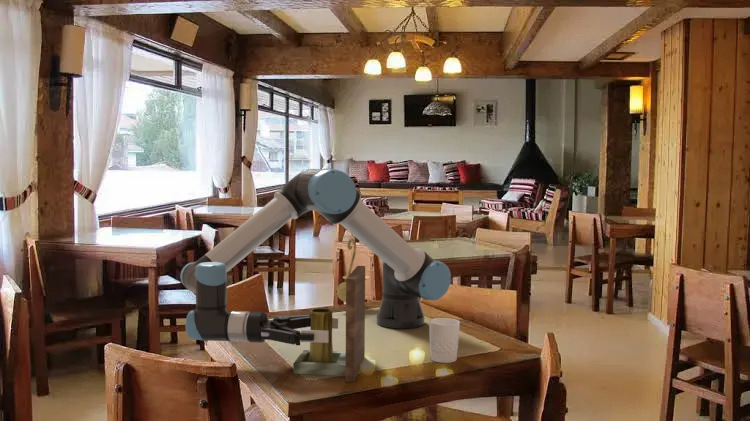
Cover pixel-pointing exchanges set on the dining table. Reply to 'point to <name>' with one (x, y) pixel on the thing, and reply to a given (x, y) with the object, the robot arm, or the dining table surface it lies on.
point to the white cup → (444, 339)
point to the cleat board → (355, 336)
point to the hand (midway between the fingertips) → (333, 329)
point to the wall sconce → (342, 287)
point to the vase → (322, 321)
